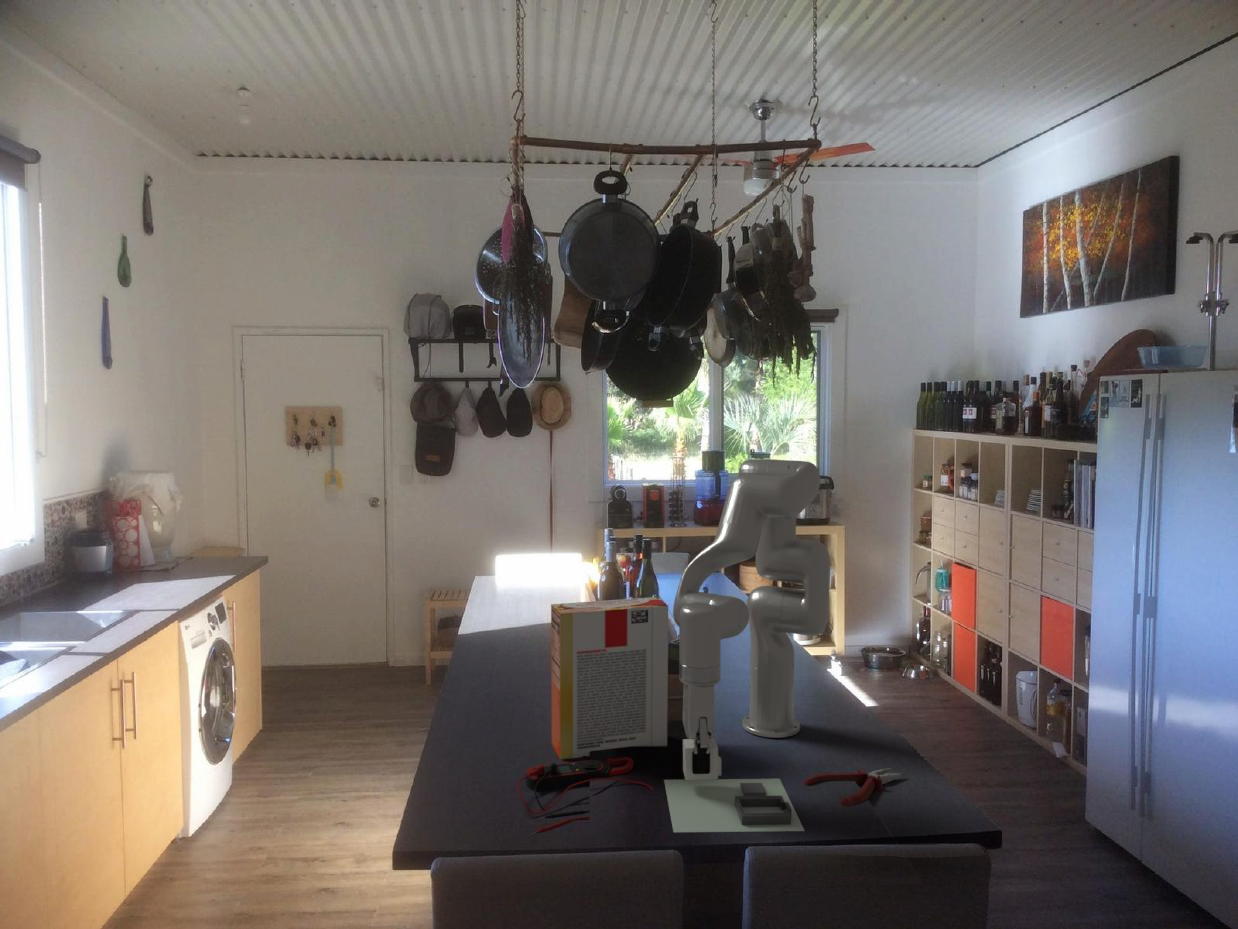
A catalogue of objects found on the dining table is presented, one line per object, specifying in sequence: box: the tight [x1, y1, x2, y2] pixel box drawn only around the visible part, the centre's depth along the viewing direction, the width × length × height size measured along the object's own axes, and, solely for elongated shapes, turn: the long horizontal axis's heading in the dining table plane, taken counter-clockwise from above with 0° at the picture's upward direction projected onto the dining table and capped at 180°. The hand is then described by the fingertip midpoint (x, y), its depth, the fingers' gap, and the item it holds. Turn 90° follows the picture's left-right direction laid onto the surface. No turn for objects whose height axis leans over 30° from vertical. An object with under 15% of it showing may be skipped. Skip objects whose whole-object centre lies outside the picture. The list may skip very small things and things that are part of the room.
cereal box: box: [550, 596, 669, 761], centre depth 185 cm, size 23×8×30 cm, turn 107°
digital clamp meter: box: [516, 756, 655, 836], centre depth 164 cm, size 23×4×25 cm
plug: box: [682, 737, 722, 780], centre depth 164 cm, size 4×7×6 cm, turn 92°
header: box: [735, 796, 791, 825], centre depth 154 cm, size 8×9×2 cm
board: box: [663, 778, 805, 834], centre depth 158 cm, size 20×22×2 cm
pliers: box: [803, 767, 905, 807], centre depth 167 cm, size 12×20×3 cm, turn 122°
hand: (699, 767), depth 164 cm, fingers closed on plug, 3 cm apart
